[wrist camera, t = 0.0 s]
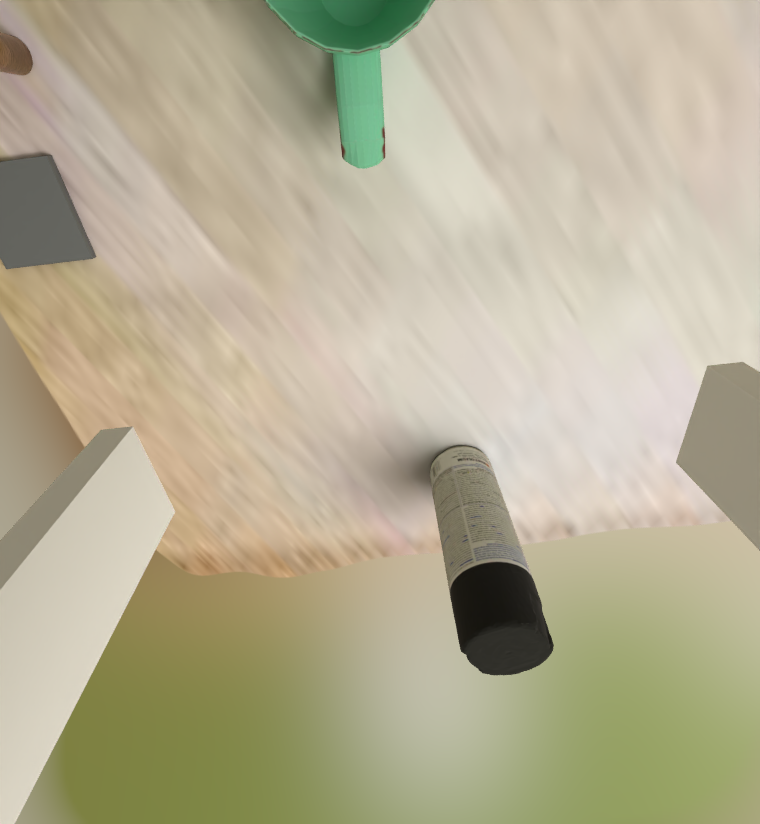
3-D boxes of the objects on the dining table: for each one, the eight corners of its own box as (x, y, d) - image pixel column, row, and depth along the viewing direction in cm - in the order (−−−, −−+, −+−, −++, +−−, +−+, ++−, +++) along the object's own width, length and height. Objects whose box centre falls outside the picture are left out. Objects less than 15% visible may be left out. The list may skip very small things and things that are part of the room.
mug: (255, -139, 24) (193, -291, 15) (434, -156, 24) (470, -318, 15) (299, 166, 32) (275, 177, 23) (435, 155, 32) (459, 162, 23)
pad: (-43, 167, 31) (-50, 168, 31) (51, 155, 31) (46, 155, 30) (11, 267, 35) (6, 269, 34) (96, 256, 35) (92, 258, 34)
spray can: (445, 500, 50) (485, 687, 33) (416, 460, 46) (444, 645, 30) (499, 475, 48) (571, 660, 31) (473, 433, 45) (538, 613, 28)
